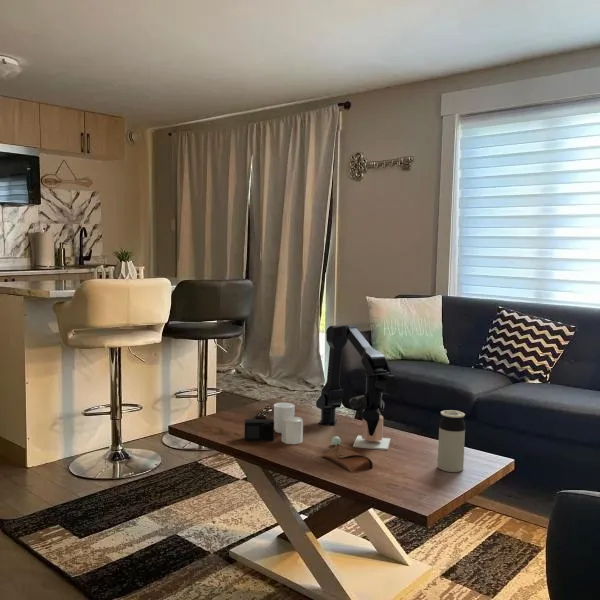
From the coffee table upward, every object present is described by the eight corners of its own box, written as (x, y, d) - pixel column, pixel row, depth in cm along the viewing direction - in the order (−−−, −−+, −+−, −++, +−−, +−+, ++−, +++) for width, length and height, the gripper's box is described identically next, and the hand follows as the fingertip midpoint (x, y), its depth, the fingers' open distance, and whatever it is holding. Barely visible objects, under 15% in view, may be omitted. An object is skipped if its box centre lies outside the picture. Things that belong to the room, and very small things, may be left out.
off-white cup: (285, 437, 222) (285, 415, 221) (303, 439, 220) (304, 417, 220) (280, 443, 215) (280, 420, 214) (299, 444, 213) (299, 422, 213)
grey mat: (357, 437, 224) (357, 435, 224) (390, 440, 222) (390, 438, 222) (353, 446, 213) (353, 445, 213) (387, 450, 210) (387, 448, 210)
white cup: (285, 435, 224) (286, 408, 223) (269, 431, 229) (269, 405, 228) (298, 430, 231) (298, 404, 230) (282, 426, 235) (282, 401, 234)
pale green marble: (332, 443, 216) (332, 434, 216) (341, 444, 215) (341, 435, 215) (330, 446, 213) (331, 437, 213) (339, 447, 212) (340, 438, 212)
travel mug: (438, 472, 190) (441, 415, 189) (436, 463, 198) (438, 409, 197) (464, 473, 189) (467, 417, 188) (461, 465, 197) (464, 410, 196)
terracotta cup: (363, 434, 221) (364, 412, 221) (383, 436, 220) (383, 414, 219) (361, 440, 214) (361, 417, 214) (381, 441, 213) (382, 419, 212)
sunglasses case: (318, 456, 202) (326, 437, 203) (332, 463, 206) (340, 445, 207) (352, 473, 187) (361, 453, 189) (366, 480, 191) (375, 461, 192)
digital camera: (244, 442, 215) (244, 423, 214) (244, 437, 220) (244, 418, 220) (273, 442, 216) (274, 423, 216) (272, 437, 222) (273, 418, 221)
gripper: (355, 382, 227) (353, 423, 228) (347, 393, 208) (345, 438, 210) (385, 384, 224) (383, 426, 225) (379, 396, 206) (378, 441, 207)
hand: (372, 432), depth 217 cm, fingers closed on terracotta cup, 7 cm apart
